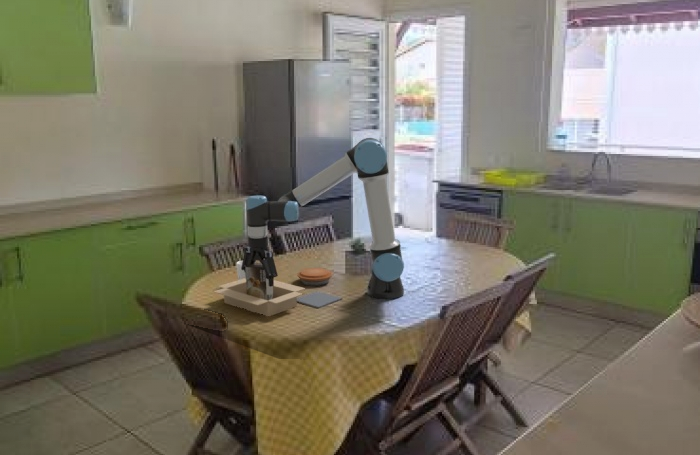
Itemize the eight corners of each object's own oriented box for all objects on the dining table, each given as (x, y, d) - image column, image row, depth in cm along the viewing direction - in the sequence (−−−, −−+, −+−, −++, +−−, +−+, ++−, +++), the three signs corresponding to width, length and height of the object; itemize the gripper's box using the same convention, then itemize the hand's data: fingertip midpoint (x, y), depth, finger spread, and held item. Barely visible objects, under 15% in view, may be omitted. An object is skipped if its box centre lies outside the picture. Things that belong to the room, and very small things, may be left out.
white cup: (240, 288, 268) (239, 265, 266) (235, 283, 275) (234, 261, 273) (258, 285, 272) (257, 263, 270) (252, 281, 279) (251, 259, 277)
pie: (339, 280, 280) (339, 269, 279) (320, 289, 267) (319, 277, 266) (310, 275, 288) (310, 264, 287) (290, 283, 275) (290, 272, 274)
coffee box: (273, 302, 250) (272, 263, 247) (269, 307, 244) (268, 267, 241) (251, 301, 252) (250, 262, 248) (246, 306, 246) (244, 266, 242)
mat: (342, 299, 254) (342, 297, 254) (318, 308, 243) (318, 306, 243) (316, 292, 263) (316, 291, 262) (292, 301, 252) (292, 299, 252)
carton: (313, 305, 247) (312, 290, 246) (265, 322, 228) (265, 307, 227) (255, 288, 268) (255, 275, 267) (207, 303, 249) (207, 289, 248)
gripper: (286, 238, 238) (287, 294, 242) (245, 230, 252) (247, 283, 257) (271, 242, 232) (273, 299, 237) (230, 233, 247) (232, 287, 251)
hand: (259, 291), depth 247 cm, fingers closed on coffee box, 11 cm apart
